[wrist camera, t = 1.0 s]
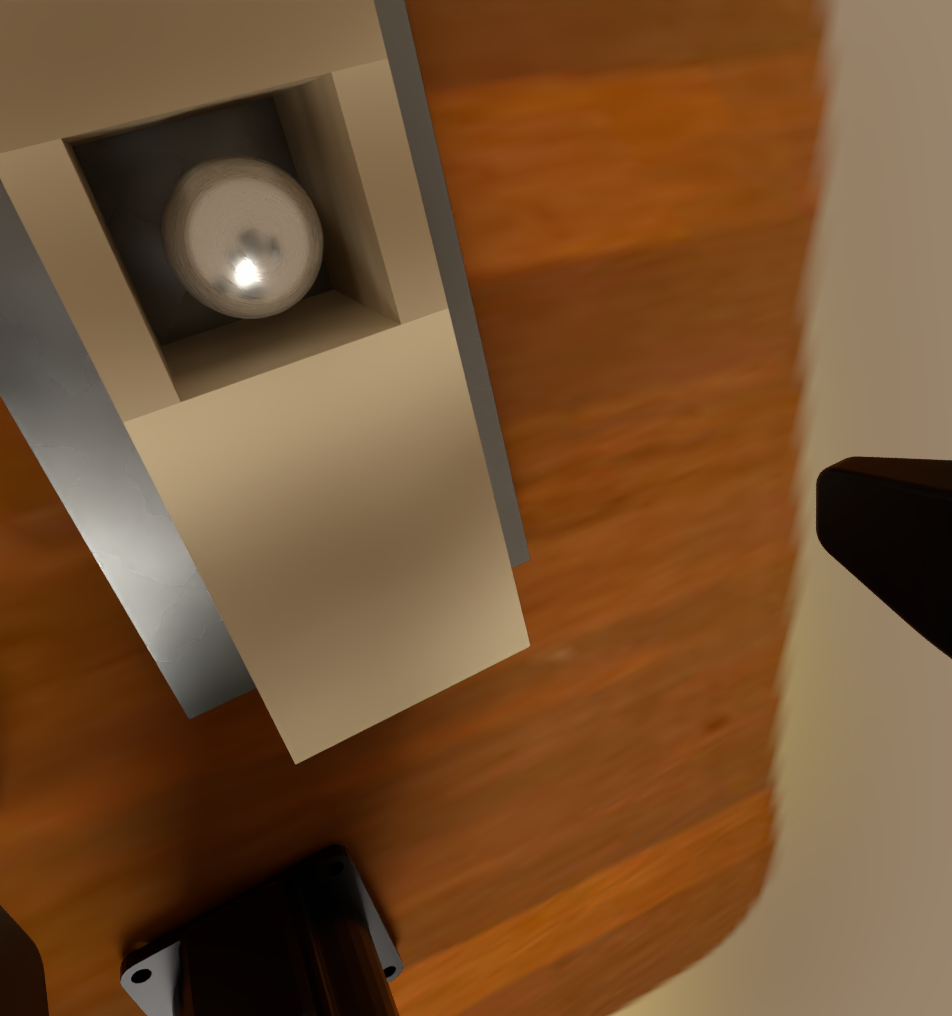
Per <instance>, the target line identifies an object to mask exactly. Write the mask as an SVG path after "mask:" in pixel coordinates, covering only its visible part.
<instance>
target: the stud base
mask: <svg viewBox="0 0 952 1016" xmlns="http://www.w3.org/2000/svg"><path fill="white" fill-rule="evenodd" d="M374 4H375V8H376V12H377V16H378V20H379V25H380V29H381V33H382V37H383V41H384V45H385V49H386V53H387V58H388V62H389V66H390V70H391V74H392V78H393V82H394V86H395V91H396V95H397V99H398V103H399V107H400V111H401V115H402V119H403V124H404V128H405V132H406V136H407V140H408V144H409V148H410V152H411V157H412V161H413V165H414V169H415V173H416V177H417V181H418V185H419V189H420V194H421V198H422V202H423V206H424V210H425V214H426V218H427V222H428V227H429V231H430V235H431V239H432V243H433V247H434V251H435V255H436V260H437V264H438V268H439V272H440V276H441V280H442V284H443V288H444V293H445V297H446V301H447V305H448V309H449V313H450V317H451V321H452V325H453V330H454V334H455V338H456V342H457V346H458V350H459V354H460V358H461V363H462V367H463V371H464V375H465V379H466V383H467V387H468V391H469V396H470V400H471V404H472V408H473V412H474V416H475V420H476V424H477V429H478V433H479V437H480V441H481V445H482V449H483V453H484V457H485V462H486V466H487V470H488V474H489V478H490V482H491V486H492V490H493V494H494V499H495V503H496V507H497V511H498V515H499V519H500V523H501V527H502V532H503V536H504V540H505V544H506V548H507V552H508V556H509V560H510V565H511V569H512V568H514V567H516V566H518V565H520V564H522V563H525V562H527V561H529V560H530V556H529V551H528V547H527V542H526V538H525V534H524V529H523V525H522V520H521V516H520V511H519V507H518V502H517V498H516V494H515V489H514V485H513V480H512V476H511V471H510V467H509V463H508V458H507V454H506V449H505V445H504V440H503V436H502V431H501V427H500V423H499V418H498V414H497V409H496V405H495V400H494V396H493V391H492V387H491V383H490V378H489V374H488V369H487V365H486V360H485V356H484V352H483V347H482V343H481V338H480V334H479V329H478V325H477V320H476V316H475V312H474V307H473V303H472V298H471V294H470V289H469V285H468V281H467V276H466V272H465V267H464V263H463V258H462V254H461V249H460V245H459V241H458V236H457V232H456V227H455V223H454V218H453V214H452V209H451V205H450V201H449V196H448V192H447V187H446V183H445V178H444V174H443V170H442V165H441V161H440V156H439V152H438V147H437V143H436V138H435V134H434V130H433V125H432V121H431V116H430V112H429V107H428V103H427V99H426V94H425V90H424V85H423V81H422V76H421V72H420V67H419V63H418V59H417V54H416V50H415V45H414V41H413V36H412V32H411V27H410V23H409V19H408V14H407V10H406V5H405V1H404V0H374ZM73 150H74V152H75V154H76V156H77V159H78V161H79V163H80V165H81V167H82V170H83V172H84V174H85V176H86V179H87V181H88V183H89V185H90V188H91V190H92V192H93V194H94V196H95V199H96V201H97V203H98V205H99V208H100V210H101V212H102V214H103V216H104V219H105V221H106V223H107V225H108V228H109V230H110V232H111V234H112V236H113V239H114V241H115V243H116V245H117V248H118V250H119V252H120V254H121V256H122V259H123V261H124V263H125V265H126V268H127V270H128V272H129V274H130V276H131V279H132V281H133V283H134V285H135V288H136V290H137V292H138V294H139V296H140V299H141V301H142V303H143V305H144V308H145V310H146V312H147V314H148V316H149V319H150V321H151V323H152V325H153V328H154V330H155V332H156V334H157V337H158V339H159V341H160V343H161V345H162V346H163V345H166V344H169V343H172V342H175V341H178V340H181V339H184V338H187V337H190V336H193V335H196V334H199V333H202V332H205V331H208V330H211V329H214V328H218V327H221V326H224V325H227V324H230V323H233V322H236V321H239V320H242V319H257V318H265V317H269V316H273V315H276V314H278V313H281V312H283V311H285V310H287V309H289V308H290V307H292V306H293V305H295V304H296V303H297V302H299V301H300V300H303V299H306V298H309V297H312V296H315V295H318V294H321V293H324V292H327V291H330V290H333V285H332V282H331V279H330V276H329V273H328V270H327V266H326V263H325V260H324V257H323V233H322V227H321V223H320V219H319V217H318V214H317V211H316V209H315V207H314V205H313V203H312V201H311V199H310V198H309V196H308V195H307V193H306V192H305V190H304V189H303V188H302V187H301V184H300V181H299V178H298V175H297V172H296V169H295V165H294V162H293V159H292V156H291V153H290V150H289V146H288V143H287V140H286V137H285V134H284V131H283V128H282V124H281V121H280V118H279V115H278V112H277V109H276V105H275V102H274V99H273V97H270V98H266V99H262V100H258V101H254V102H250V103H245V104H241V105H237V106H233V107H229V108H225V109H221V110H217V111H213V112H209V113H205V114H201V115H197V116H193V117H189V118H185V119H181V120H177V121H173V122H169V123H165V124H161V125H157V126H153V127H149V128H145V129H141V130H137V131H133V132H129V133H125V134H121V135H117V136H113V137H109V138H105V139H101V140H97V141H93V142H89V143H85V144H81V145H77V146H73ZM0 396H1V398H2V399H3V401H4V403H5V405H6V406H7V408H8V410H9V411H10V413H11V415H12V417H13V418H14V420H15V422H16V423H17V425H18V427H19V429H20V430H21V432H22V434H23V435H24V437H25V439H26V441H27V442H28V444H29V446H30V447H31V449H32V451H33V453H34V454H35V456H36V458H37V459H38V461H39V463H40V465H41V466H42V468H43V470H44V471H45V473H46V475H47V477H48V478H49V480H50V482H51V483H52V485H53V487H54V489H55V490H56V492H57V494H58V495H59V497H60V499H61V501H62V502H63V504H64V506H65V507H66V509H67V511H68V513H69V514H70V516H71V518H72V519H73V521H74V523H75V525H76V526H77V528H78V530H79V531H80V533H81V535H82V537H83V538H84V540H85V542H86V543H87V545H88V547H89V549H90V550H91V552H92V554H93V555H94V557H95V559H96V561H97V562H98V564H99V566H100V567H101V569H102V571H103V573H104V574H105V576H106V578H107V580H108V581H109V583H110V585H111V586H112V588H113V590H114V592H115V593H116V595H117V597H118V598H119V600H120V602H121V604H122V605H123V607H124V609H125V610H126V612H127V614H128V616H129V617H130V619H131V621H132V622H133V624H134V626H135V628H136V629H137V631H138V633H139V634H140V636H141V638H142V640H143V641H144V643H145V645H146V646H147V648H148V650H149V652H150V653H151V655H152V657H153V658H154V660H155V662H156V664H157V665H158V667H159V669H160V670H161V672H162V674H163V676H164V677H165V679H166V681H167V682H168V684H169V686H170V688H171V689H172V691H173V693H174V694H175V696H176V698H177V700H178V701H179V703H180V705H181V706H182V708H183V710H184V712H185V713H186V715H187V717H188V718H189V720H190V719H192V718H194V717H196V716H198V715H200V714H202V713H204V712H207V711H209V710H211V709H213V708H215V707H217V706H219V705H222V704H224V703H226V702H228V701H230V700H232V699H234V698H236V697H239V696H241V695H243V694H245V693H247V692H249V691H251V690H254V689H256V688H257V687H256V685H255V683H254V681H253V679H252V678H251V676H250V674H249V672H248V670H247V668H246V666H245V664H244V662H243V660H242V658H241V656H240V654H239V652H238V650H237V648H236V646H235V644H234V642H233V640H232V638H231V636H230V634H229V632H228V630H227V628H226V626H225V624H224V622H223V620H222V618H221V616H220V614H219V612H218V610H217V608H216V606H215V604H214V602H213V600H212V598H211V596H210V594H209V592H208V590H207V588H206V586H205V584H204V582H203V580H202V578H201V576H200V574H199V572H198V570H197V568H196V566H195V564H194V562H193V560H192V558H191V556H190V554H189V552H188V550H187V548H186V547H185V545H184V543H183V541H182V539H181V537H180V535H179V533H178V531H177V529H176V527H175V525H174V523H173V521H172V519H171V517H170V515H169V513H168V511H167V509H166V507H165V505H164V503H163V501H162V499H161V497H160V495H159V493H158V491H157V489H156V487H155V485H154V483H153V481H152V479H151V477H150V475H149V473H148V471H147V469H146V467H145V465H144V463H143V461H142V459H141V457H140V455H139V453H138V451H137V449H136V447H135V445H134V443H133V441H132V439H131V437H130V435H129V433H128V431H127V429H126V427H125V425H124V423H123V421H122V419H121V417H120V415H119V414H118V412H117V410H116V408H115V406H114V404H113V402H112V400H111V398H110V396H109V394H108V392H107V390H106V388H105V386H104V384H103V382H102V380H101V378H100V376H99V374H98V372H97V370H96V368H95V366H94V364H93V362H92V360H91V358H90V356H89V354H88V352H87V350H86V348H85V346H84V344H83V342H82V340H81V338H80V336H79V334H78V332H77V330H76V328H75V326H74V324H73V322H72V320H71V318H70V316H69V314H68V312H67V310H66V308H65V306H64V304H63V302H62V300H61V298H60V296H59V294H58V292H57V290H56V288H55V286H54V284H53V283H52V281H51V279H50V277H49V275H48V273H47V271H46V269H45V267H44V265H43V263H42V261H41V259H40V257H39V255H38V253H37V251H36V249H35V247H34V245H33V243H32V241H31V239H30V237H29V235H28V233H27V231H26V229H25V227H24V225H23V223H22V221H21V219H20V217H19V215H18V213H17V211H16V209H15V207H14V205H13V203H12V201H11V199H10V197H9V195H8V193H7V191H6V189H5V187H4V185H3V183H2V181H1V179H0Z"/></svg>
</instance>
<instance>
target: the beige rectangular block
mask: <svg viewBox="0 0 952 1016" xmlns="http://www.w3.org/2000/svg"><path fill="white" fill-rule="evenodd" d="M270 97H273V99H274V102H275V105H276V109H277V112H278V115H279V118H280V121H281V124H282V128H283V131H284V134H285V137H286V140H287V143H288V146H289V150H290V153H291V156H292V159H293V162H294V165H295V169H296V172H297V175H298V178H299V181H300V184H301V187H302V188H303V189H304V190H305V192H306V193H307V195H308V196H309V198H310V199H311V201H312V203H313V205H314V207H315V209H316V211H317V214H318V217H319V219H320V223H321V227H322V233H323V257H324V260H325V263H326V266H327V270H328V273H329V276H330V279H331V282H332V285H333V290H330V291H327V292H324V293H321V294H318V295H315V296H312V297H309V298H306V299H303V300H300V301H299V302H297V303H296V304H295V305H293V306H292V307H290V308H289V309H287V310H285V311H283V312H281V313H278V314H276V315H273V316H269V317H265V318H257V319H242V320H239V321H236V322H233V323H230V324H227V325H224V326H221V327H218V328H214V329H211V330H208V331H205V332H202V333H199V334H196V335H193V336H190V337H187V338H184V339H181V340H178V341H175V342H172V343H169V344H166V345H163V346H162V345H161V343H160V341H159V339H158V337H157V334H156V332H155V330H154V328H153V325H152V323H151V321H150V319H149V316H148V314H147V312H146V310H145V308H144V305H143V303H142V301H141V299H140V296H139V294H138V292H137V290H136V288H135V285H134V283H133V281H132V279H131V276H130V274H129V272H128V270H127V268H126V265H125V263H124V261H123V259H122V256H121V254H120V252H119V250H118V248H117V245H116V243H115V241H114V239H113V236H112V234H111V232H110V230H109V228H108V225H107V223H106V221H105V219H104V216H103V214H102V212H101V210H100V208H99V205H98V203H97V201H96V199H95V196H94V194H93V192H92V190H91V188H90V185H89V183H88V181H87V179H86V176H85V174H84V172H83V170H82V167H81V165H80V163H79V161H78V159H77V156H76V154H75V152H74V150H73V146H77V145H81V144H85V143H89V142H93V141H97V140H101V139H105V138H109V137H113V136H117V135H121V134H125V133H129V132H133V131H137V130H141V129H145V128H149V127H153V126H157V125H161V124H165V123H169V122H173V121H177V120H181V119H185V118H189V117H193V116H197V115H201V114H205V113H209V112H213V111H217V110H221V109H225V108H229V107H233V106H237V105H241V104H245V103H250V102H254V101H258V100H262V99H266V98H270ZM0 179H1V181H2V183H3V185H4V187H5V189H6V191H7V193H8V195H9V197H10V199H11V201H12V203H13V205H14V207H15V209H16V211H17V213H18V215H19V217H20V219H21V221H22V223H23V225H24V227H25V229H26V231H27V233H28V235H29V237H30V239H31V241H32V243H33V245H34V247H35V249H36V251H37V253H38V255H39V257H40V259H41V261H42V263H43V265H44V267H45V269H46V271H47V273H48V275H49V277H50V279H51V281H52V283H53V284H54V286H55V288H56V290H57V292H58V294H59V296H60V298H61V300H62V302H63V304H64V306H65V308H66V310H67V312H68V314H69V316H70V318H71V320H72V322H73V324H74V326H75V328H76V330H77V332H78V334H79V336H80V338H81V340H82V342H83V344H84V346H85V348H86V350H87V352H88V354H89V356H90V358H91V360H92V362H93V364H94V366H95V368H96V370H97V372H98V374H99V376H100V378H101V380H102V382H103V384H104V386H105V388H106V390H107V392H108V394H109V396H110V398H111V400H112V402H113V404H114V406H115V408H116V410H117V412H118V414H119V415H120V417H121V419H122V421H123V423H124V425H125V427H126V429H127V431H128V433H129V435H130V437H131V439H132V441H133V443H134V445H135V447H136V449H137V451H138V453H139V455H140V457H141V459H142V461H143V463H144V465H145V467H146V469H147V471H148V473H149V475H150V477H151V479H152V481H153V483H154V485H155V487H156V489H157V491H158V493H159V495H160V497H161V499H162V501H163V503H164V505H165V507H166V509H167V511H168V513H169V515H170V517H171V519H172V521H173V523H174V525H175V527H176V529H177V531H178V533H179V535H180V537H181V539H182V541H183V543H184V545H185V547H186V548H187V550H188V552H189V554H190V556H191V558H192V560H193V562H194V564H195V566H196V568H197V570H198V572H199V574H200V576H201V578H202V580H203V582H204V584H205V586H206V588H207V590H208V592H209V594H210V596H211V598H212V600H213V602H214V604H215V606H216V608H217V610H218V612H219V614H220V616H221V618H222V620H223V622H224V624H225V626H226V628H227V630H228V632H229V634H230V636H231V638H232V640H233V642H234V644H235V646H236V648H237V650H238V652H239V654H240V656H241V658H242V660H243V662H244V664H245V666H246V668H247V670H248V672H249V674H250V676H251V678H252V679H253V681H254V683H255V685H256V687H257V689H258V691H259V693H260V695H261V697H262V699H263V701H264V703H265V705H266V707H267V709H268V711H269V713H270V715H271V717H272V719H273V721H274V723H275V725H276V727H277V729H278V731H279V733H280V735H281V737H282V739H283V741H284V743H285V745H286V747H287V749H288V751H289V753H290V755H291V757H292V759H293V761H294V763H295V765H296V764H298V763H300V762H302V761H304V760H306V759H308V758H310V757H312V756H314V755H316V754H318V753H320V752H322V751H324V750H326V749H328V748H330V747H332V746H334V745H336V744H338V743H339V742H341V741H343V740H345V739H347V738H349V737H351V736H353V735H355V734H357V733H359V732H361V731H363V730H365V729H367V728H369V727H371V726H373V725H375V724H377V723H379V722H381V721H383V720H385V719H387V718H389V717H391V716H393V715H395V714H397V713H399V712H401V711H403V710H405V709H407V708H409V707H411V706H413V705H415V704H417V703H419V702H421V701H423V700H425V699H427V698H429V697H431V696H433V695H435V694H437V693H439V692H441V691H443V690H444V689H446V688H448V687H450V686H452V685H454V684H456V683H458V682H460V681H462V680H464V679H466V678H468V677H470V676H472V675H474V674H476V673H478V672H480V671H482V670H484V669H486V668H488V667H490V666H492V665H494V664H496V663H498V662H500V661H502V660H504V659H506V658H508V657H510V656H512V655H514V654H516V653H518V652H520V651H522V650H524V649H526V648H528V647H530V643H529V639H528V635H527V631H526V626H525V622H524V618H523V614H522V610H521V606H520V602H519V598H518V593H517V589H516V585H515V581H514V577H513V573H512V569H511V565H510V560H509V556H508V552H507V548H506V544H505V540H504V536H503V532H502V527H501V523H500V519H499V515H498V511H497V507H496V503H495V499H494V494H493V490H492V486H491V482H490V478H489V474H488V470H487V466H486V462H485V457H484V453H483V449H482V445H481V441H480V437H479V433H478V429H477V424H476V420H475V416H474V412H473V408H472V404H471V400H470V396H469V391H468V387H467V383H466V379H465V375H464V371H463V367H462V363H461V358H460V354H459V350H458V346H457V342H456V338H455V334H454V330H453V325H452V321H451V317H450V313H449V309H448V305H447V301H446V297H445V293H444V288H443V284H442V280H441V276H440V272H439V268H438V264H437V260H436V255H435V251H434V247H433V243H432V239H431V235H430V231H429V227H428V222H427V218H426V214H425V210H424V206H423V202H422V198H421V194H420V189H419V185H418V181H417V177H416V173H415V169H414V165H413V161H412V157H411V152H410V148H409V144H408V140H407V136H406V132H405V128H404V124H403V119H402V115H401V111H400V107H399V103H398V99H397V95H396V91H395V86H394V82H393V78H392V74H391V70H390V66H389V62H388V58H387V53H386V49H385V45H384V41H383V37H382V33H381V29H380V25H379V20H378V16H377V12H376V8H375V4H374V0H0Z"/></svg>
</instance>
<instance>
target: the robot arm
mask: <svg viewBox="0 0 952 1016" xmlns="http://www.w3.org/2000/svg"><path fill="white" fill-rule="evenodd" d="M816 531H817V536H818V539H819V541H820V543H821V544H822V546H823V547H824V549H825V550H826V551H827V552H828V553H829V554H830V555H831V556H833V557H834V558H835V559H836V560H837V561H838V562H839V563H840V564H841V565H843V566H844V567H845V568H846V569H847V570H848V571H849V572H850V573H852V574H853V575H854V576H855V577H856V578H857V579H858V580H860V581H861V582H862V583H863V584H864V585H865V586H866V587H867V588H868V589H870V590H871V591H872V592H873V593H874V594H875V595H876V596H877V597H879V598H880V599H881V600H882V601H883V602H884V603H885V604H886V605H887V606H889V607H890V608H891V609H892V610H893V611H894V612H895V613H896V614H898V615H899V616H900V617H901V618H902V619H903V620H904V621H905V622H907V623H908V624H909V625H910V626H911V627H912V628H913V629H915V630H916V631H917V632H918V633H919V634H921V635H922V636H923V637H924V638H925V639H927V640H928V641H929V642H930V643H932V644H933V645H934V646H935V647H937V648H938V649H939V650H941V651H942V652H943V653H944V654H946V655H947V656H949V657H950V658H951V659H952V460H931V459H906V458H882V457H881V458H880V457H850V458H846V459H844V460H842V461H840V462H838V463H836V464H834V465H832V466H829V467H827V468H826V469H824V470H823V471H822V472H821V473H820V474H819V476H818V479H817V483H816ZM333 863H335V864H333ZM331 864H332V865H331ZM402 969H403V963H402V961H401V958H400V955H399V953H398V951H397V949H396V947H395V945H394V943H393V941H392V939H391V937H390V934H389V932H388V930H387V928H386V926H385V924H384V922H383V920H382V918H381V916H380V914H379V912H378V910H377V908H376V906H375V904H374V902H373V900H372V898H371V896H370V894H369V892H368V890H367V888H366V886H365V884H364V882H363V880H362V878H361V876H360V874H359V872H358V870H357V868H356V866H355V864H354V862H353V860H352V857H351V855H350V853H349V851H348V849H347V848H346V847H345V846H342V845H332V846H329V847H327V848H325V849H323V850H321V851H319V852H317V853H315V854H314V855H312V856H310V857H308V858H306V859H304V860H302V861H301V862H299V863H297V864H295V865H293V866H291V867H290V868H288V869H286V870H284V871H282V872H280V873H279V874H277V875H275V876H273V877H271V878H269V879H267V880H266V881H264V882H262V883H260V884H258V885H256V886H255V887H253V888H251V889H249V890H247V891H245V892H244V893H242V894H240V895H238V896H236V897H234V898H232V899H231V900H229V901H227V902H225V903H223V904H221V905H220V906H218V907H216V908H214V909H212V910H210V911H208V912H207V913H205V914H203V915H201V916H199V917H197V918H196V919H194V920H192V921H190V922H188V923H186V924H185V925H183V926H181V927H179V928H177V929H175V930H173V931H172V932H170V933H168V934H166V935H164V936H162V937H161V938H159V939H157V940H155V941H153V942H151V943H150V944H148V945H146V946H144V947H142V948H140V949H138V950H137V951H135V952H133V953H131V954H130V955H129V956H127V957H126V958H125V959H124V960H123V962H122V963H121V967H120V982H121V985H122V987H123V988H124V989H125V990H126V992H127V993H128V994H129V995H130V996H131V997H132V998H133V1000H134V1001H135V1002H136V1003H137V1004H138V1005H139V1007H140V1008H141V1009H142V1010H143V1011H144V1012H145V1014H146V1015H147V1016H399V1013H398V1010H397V1008H396V1005H395V1002H394V999H393V996H392V993H391V991H390V988H389V985H388V983H389V982H391V981H392V980H394V979H395V978H396V977H398V975H399V974H400V973H401V972H402ZM0 1016H49V1012H48V1002H47V993H46V984H45V975H44V967H43V963H42V959H41V956H40V953H39V951H38V949H37V947H36V945H35V943H34V942H33V941H32V939H31V938H30V937H29V936H28V935H27V934H26V933H25V932H24V930H23V929H22V928H21V927H20V926H19V925H18V924H17V923H16V922H15V921H14V920H13V918H12V917H11V916H10V915H9V914H8V913H7V912H6V911H5V910H4V909H3V908H2V907H1V905H0Z"/></svg>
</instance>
